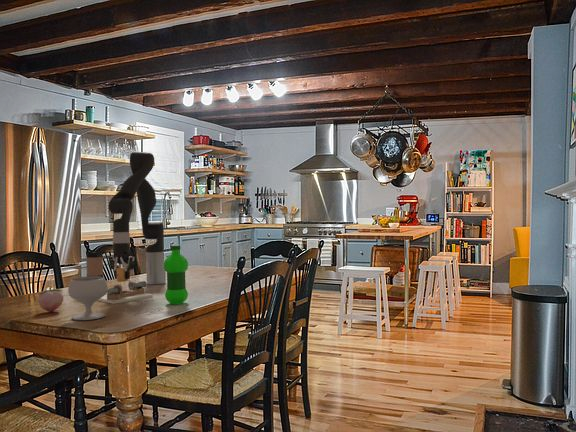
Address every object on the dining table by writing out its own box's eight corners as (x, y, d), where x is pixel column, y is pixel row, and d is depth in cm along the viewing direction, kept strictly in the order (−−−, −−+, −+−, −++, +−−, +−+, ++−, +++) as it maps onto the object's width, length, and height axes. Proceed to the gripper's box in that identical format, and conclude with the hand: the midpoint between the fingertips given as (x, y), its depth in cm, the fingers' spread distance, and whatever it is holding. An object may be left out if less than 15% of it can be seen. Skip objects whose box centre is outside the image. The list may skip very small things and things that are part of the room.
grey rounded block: (113, 297, 235) (112, 284, 235) (123, 297, 235) (123, 284, 234) (105, 300, 227) (104, 287, 227) (116, 300, 227) (115, 287, 226)
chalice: (112, 313, 206) (112, 275, 205) (101, 321, 192) (100, 280, 191) (76, 314, 205) (76, 276, 205) (62, 322, 191) (61, 281, 191)
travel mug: (106, 291, 261) (105, 251, 260) (99, 293, 253) (98, 252, 253) (91, 291, 261) (90, 251, 261) (84, 293, 254) (83, 252, 253)
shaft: (142, 291, 250) (141, 279, 250) (148, 292, 247) (147, 280, 247) (127, 293, 244) (126, 281, 244) (133, 294, 241) (132, 282, 241)
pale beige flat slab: (130, 293, 253) (130, 287, 253) (152, 297, 241) (152, 291, 241) (92, 299, 238) (92, 293, 238) (113, 303, 226) (113, 297, 226)
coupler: (123, 280, 243) (123, 267, 242) (130, 280, 239) (129, 267, 239) (114, 281, 239) (113, 268, 239) (120, 282, 236) (120, 268, 235)
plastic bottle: (165, 306, 218) (163, 246, 217) (164, 302, 228) (163, 244, 228) (189, 304, 221) (188, 245, 220) (187, 300, 231) (186, 244, 230)
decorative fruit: (56, 308, 217) (56, 284, 216) (66, 311, 211) (66, 286, 211) (33, 312, 209) (33, 287, 209) (43, 315, 204) (43, 289, 204)
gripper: (103, 242, 238) (104, 279, 238) (128, 242, 233) (129, 280, 233) (114, 241, 245) (115, 277, 245) (139, 241, 239) (140, 278, 240)
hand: (122, 278), depth 239 cm, fingers closed on coupler, 5 cm apart
